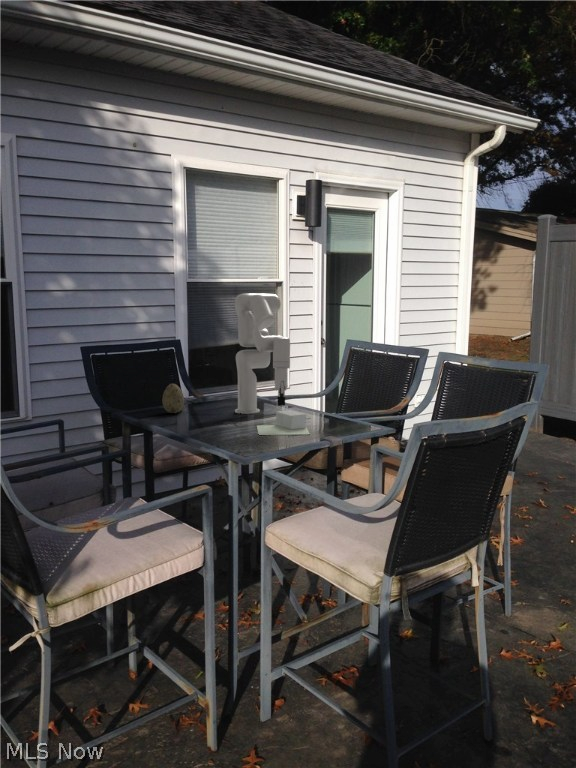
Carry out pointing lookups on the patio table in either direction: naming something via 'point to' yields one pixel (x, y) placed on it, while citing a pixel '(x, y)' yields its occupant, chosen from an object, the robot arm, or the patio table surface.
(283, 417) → the small box
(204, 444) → the patio table surface
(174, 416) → the patio table surface
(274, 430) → the mat
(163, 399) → the decorative egg
